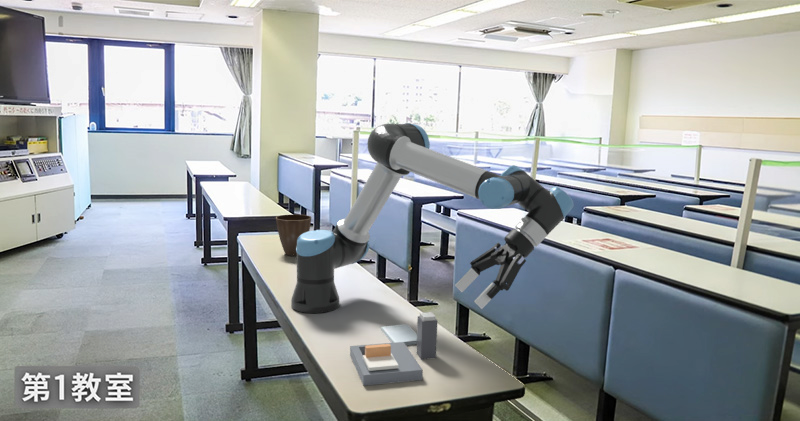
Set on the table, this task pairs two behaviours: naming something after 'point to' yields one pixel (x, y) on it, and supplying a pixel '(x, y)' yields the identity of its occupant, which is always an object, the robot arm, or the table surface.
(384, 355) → the shutter
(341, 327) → the table surface
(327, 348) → the table surface
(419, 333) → the grey block
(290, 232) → the plant pot
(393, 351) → the socket plate
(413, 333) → the hard drive
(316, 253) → the robot arm
